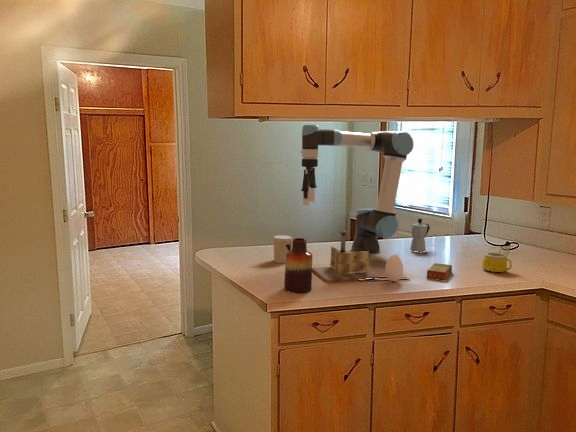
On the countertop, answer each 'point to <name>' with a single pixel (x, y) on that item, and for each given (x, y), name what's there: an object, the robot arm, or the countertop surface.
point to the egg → (394, 268)
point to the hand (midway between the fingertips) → (308, 203)
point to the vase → (298, 267)
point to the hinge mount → (345, 267)
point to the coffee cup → (281, 247)
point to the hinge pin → (343, 240)
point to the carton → (439, 271)
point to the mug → (496, 261)
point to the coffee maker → (419, 236)
